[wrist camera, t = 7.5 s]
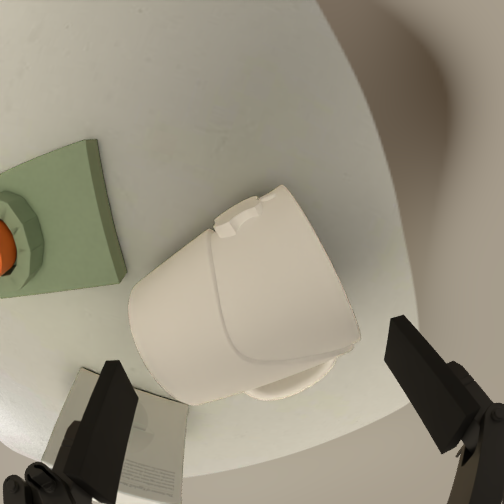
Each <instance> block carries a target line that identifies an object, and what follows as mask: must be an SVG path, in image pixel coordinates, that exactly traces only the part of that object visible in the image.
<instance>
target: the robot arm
mask: <svg viewBox="0 0 504 504" xmlns="http://www.w3.org/2000/svg"><path fill="white" fill-rule="evenodd" d="M384 361H385V362H386V364H387V365H388V367H389V369H390V370H391V372H392V373H393V375H394V376H395V378H396V379H397V381H398V383H399V384H400V386H401V387H402V389H403V390H404V392H405V394H406V395H407V397H408V398H409V400H410V402H411V403H412V405H413V406H414V408H415V410H416V411H417V413H418V415H419V416H420V418H421V419H422V421H423V423H424V425H425V426H426V428H427V430H428V431H429V433H430V435H431V437H432V438H433V440H434V442H435V443H436V445H437V447H438V449H439V450H440V452H441V454H443V453H445V452H447V451H449V450H451V449H453V448H455V447H456V446H457V444H458V443H459V441H460V440H462V441H463V443H464V445H463V446H462V447H461V449H460V450H459V451H458V453H457V455H456V457H458V456H459V455H460V454H461V455H460V460H459V464H458V468H457V472H456V476H455V479H454V484H453V487H452V490H451V493H450V497H449V500H448V503H447V504H501V502H502V501H503V502H502V504H504V404H502V403H493V402H492V401H491V400H490V398H489V397H488V396H487V395H486V393H485V392H484V391H483V390H482V389H481V387H480V386H479V385H478V384H477V383H476V382H475V381H474V379H473V378H472V377H471V375H469V373H468V372H467V371H466V370H465V368H464V367H463V366H461V365H460V364H458V363H456V362H455V361H452V362H449V363H447V364H446V363H445V362H444V360H443V359H442V358H441V357H440V356H439V354H438V353H437V352H436V351H435V350H434V349H433V347H432V346H431V345H430V344H429V343H428V342H427V340H425V338H424V337H423V336H422V335H421V334H420V333H419V331H418V330H417V329H416V328H415V327H414V326H413V325H412V324H411V322H410V321H409V320H408V319H407V318H406V317H405V316H404V315H401V316H398V317H394V318H391V320H390V327H389V334H388V340H387V346H386V352H385V358H384ZM138 400H139V397H138V396H137V394H136V392H135V390H134V388H133V386H132V384H131V383H130V381H129V379H128V377H127V375H126V373H125V371H124V369H123V367H122V365H121V363H120V361H119V360H113V361H106V362H105V364H104V367H103V369H102V371H101V373H100V376H99V378H98V380H97V383H96V385H95V387H94V390H93V392H92V394H91V397H90V399H89V402H88V404H87V407H86V409H85V412H84V414H83V417H82V419H81V421H77V420H74V421H73V422H72V423H71V425H70V426H69V427H68V428H67V431H66V433H65V436H64V439H63V441H62V443H61V445H62V446H60V449H59V451H58V454H57V457H56V460H55V462H54V465H53V468H52V470H51V469H50V468H49V467H48V466H47V465H45V464H44V463H42V462H35V463H32V464H31V465H29V466H28V468H27V469H26V471H25V480H26V481H24V480H23V479H22V478H20V477H19V476H17V475H11V476H8V477H7V478H6V479H5V481H4V484H3V500H4V504H92V503H91V502H92V498H94V499H95V500H97V501H98V502H99V503H104V504H116V498H117V493H118V487H119V482H120V477H121V472H122V467H123V463H124V458H125V453H126V449H127V444H128V440H129V436H130V432H131V427H132V423H133V419H134V415H135V411H136V407H137V403H138Z"/></svg>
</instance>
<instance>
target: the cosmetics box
mask: <svg viewBox="0 0 504 504" xmlns="http://www.w3.org/2000/svg"><path fill="white" fill-rule="evenodd" d="M99 376H100V375H98V374H95V373H93V372H91V371H88V370H86V369H84V368H81V369H80V370H79V372H78V374H77V377H76V380H75V382H74V384H73V386H72V388H71V390H70V392H69V394H68V396H67V399H66V401H65V403H64V405H63V408H62V410H61V412H60V415H59V417H58V419H57V422H56V424H55V426H54V429H53V431H52V434H51V437H50V439H49V442H48V445H47V447H46V450H45V452H44V454H43V456H42V459H41V462H42V463H44V464H45V465H47V466H48V467H49V468H50V469H51V470H52V468H53V465H54V462H55V460H56V457H57V454H58V451H59V449H60V446H62V445H61V443H62V441H63V439H64V436H65V433H66V431H67V428H68V427H69V426H70V425H71V423H72V422H73V421H74V420H77V421H81V419H82V417H83V414H84V412H85V409H86V407H87V404H88V402H89V399H90V397H91V394H92V392H93V390H94V387H95V385H96V383H97V380H98V378H99ZM134 390H135V392H136V394H137V396H138V397H139V400H138V403H137V407H136V411H135V415H134V419H133V423H132V427H131V432H130V436H129V440H128V444H127V449H126V453H125V458H124V463H123V467H122V472H121V477H120V482H119V487H118V493H117V498H116V504H182V497H181V494H182V493H181V492H182V477H183V461H184V448H185V436H186V422H187V415H188V411H189V407H188V405H187V404H183V403H179V402H176V401H172V400H169V399H165V398H162V397H159V396H156V395H152V394H149V393H146V392H143V391H140V390H137V389H135V388H134ZM92 500H93V501H96V502H98V501H97V500H95V499H94V498H92ZM102 504H104V503H102Z"/></svg>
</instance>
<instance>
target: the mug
mask: <svg viewBox="0 0 504 504" xmlns="http://www.w3.org/2000/svg"><path fill="white" fill-rule="evenodd" d="M259 199H260V200H259ZM259 199H258V197H257V196H253V197H250V198H248V199H246V200H243V201H242V202H240V203H238V204H236V205H234V206H233V207H231V208H230V209H228V210H227V211H225V212H224V213H222V214H221V215H220V216H218V217H217V218H216V219H215V220H214V222H215V224H214V226H213V228H214V229H215V232H214V231H213V230H211V229H207V230H206V231H204V232H203V233H202V234H200V235H199V236H198V237H196V238H195V239H194V240H192V241H191V242H190V243H188V244H187V245H186V246H184V247H183V248H182V249H180V250H179V251H178V252H177V253H175V254H174V255H173V256H171V257H170V258H169V259H167V260H166V261H165V262H163V263H162V264H161V265H160V266H158V267H157V268H156V269H154V270H153V271H152V272H151V273H149V274H148V275H147V276H145V277H144V278H143V279H142V280H140V281H139V282H138V283H137V284H136V285H135V286H134V287H133V289H132V291H131V294H130V297H129V303H128V315H129V323H130V328H131V332H132V336H133V339H134V342H135V345H136V347H137V350H138V352H139V354H140V356H141V358H142V360H143V362H144V364H145V366H146V367H147V369H148V370H149V372H150V373H151V375H152V376H153V377H154V379H155V380H156V381H157V382H158V384H159V385H160V386H161V387H162V388H163V389H164V390H165V391H166V392H167V393H169V394H170V395H171V396H172V397H174V398H175V399H177V400H179V401H180V402H182V403H185V404H188V405H201V404H205V403H208V402H212V401H215V400H219V399H222V398H226V397H229V396H232V395H236V394H239V393H242V392H244V393H245V394H247V395H249V396H251V397H253V398H255V399H259V400H278V399H282V398H286V397H289V396H292V395H295V394H297V393H299V392H301V391H303V390H305V389H307V388H309V387H310V386H312V385H313V384H315V383H316V382H318V381H319V380H320V379H322V378H323V377H324V376H325V375H326V374H327V373H328V372H329V371H330V370H331V368H332V367H333V366H334V364H335V362H336V360H337V357H339V356H341V355H343V354H345V353H348V352H350V351H351V350H352V349H353V347H354V343H356V342H358V341H360V340H361V334H360V330H359V326H358V323H357V320H356V317H355V315H354V312H353V310H352V307H351V305H350V302H349V300H348V297H347V295H346V293H345V291H344V288H343V286H342V284H341V282H340V280H339V277H338V275H337V273H336V271H335V269H334V267H333V265H332V263H331V261H330V259H329V257H328V255H327V253H326V251H325V249H324V247H323V245H322V244H321V242H320V240H319V238H318V236H317V234H316V233H315V231H314V229H313V227H312V226H311V224H310V222H309V220H308V219H307V217H306V215H305V214H304V212H303V211H302V209H301V207H300V206H299V204H298V203H297V201H296V200H295V198H294V197H293V195H292V194H291V193H290V191H289V190H288V189H287V188H286V187H285V186H284V185H280V186H278V187H277V188H275V189H274V190H272V191H271V192H270V193H268V194H266V195H264V196H262V197H260V198H259Z"/></svg>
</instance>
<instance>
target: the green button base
mask: <svg viewBox="0 0 504 504" xmlns="http://www.w3.org/2000/svg"><path fill="white" fill-rule="evenodd" d="M0 220H1V221H3V222H4V223H5V224H6V225H7V227H8V228H9V229H10V231H11V233H12V235H13V238H14V241H15V244H16V260H15V263H14V265H13V266H12V268H10V269H9V270H8V271H7V272H5V273H4V274H3V275H1V276H0V298H1V299H3V298H11V297H20V296H28V295H36V294H44V293H52V292H59V291H67V290H75V289H83V288H90V287H98V286H105V285H113V284H119V283H120V282H121V281H122V279H123V278H124V276H125V275H126V273H127V270H126V267H125V264H124V260H123V257H122V253H121V250H120V246H119V242H118V239H117V235H116V231H115V227H114V223H113V219H112V215H111V211H110V206H109V202H108V197H107V193H106V188H105V183H104V178H103V173H102V168H101V162H100V156H99V150H98V144H97V139H88V140H82V141H79V142H76V143H74V144H71V145H68V146H65V147H62V148H60V149H57V150H54V151H52V152H49V153H47V154H44V155H42V156H39V157H37V158H34V159H32V160H30V161H27V162H25V163H23V164H21V165H18V166H16V167H14V168H12V169H10V170H7V171H5V172H3V173H1V174H0Z"/></svg>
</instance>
